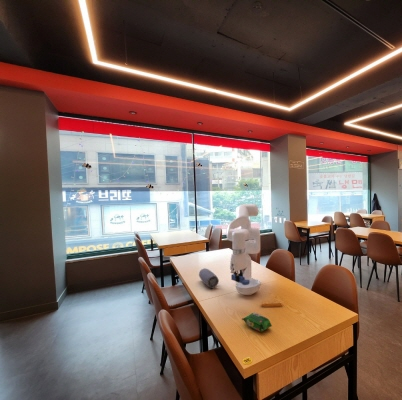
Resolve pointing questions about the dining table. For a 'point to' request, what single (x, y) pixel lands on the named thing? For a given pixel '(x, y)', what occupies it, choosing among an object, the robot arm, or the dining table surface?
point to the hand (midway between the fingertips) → (239, 280)
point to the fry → (271, 304)
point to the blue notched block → (240, 279)
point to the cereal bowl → (248, 287)
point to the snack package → (257, 322)
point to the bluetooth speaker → (208, 278)
